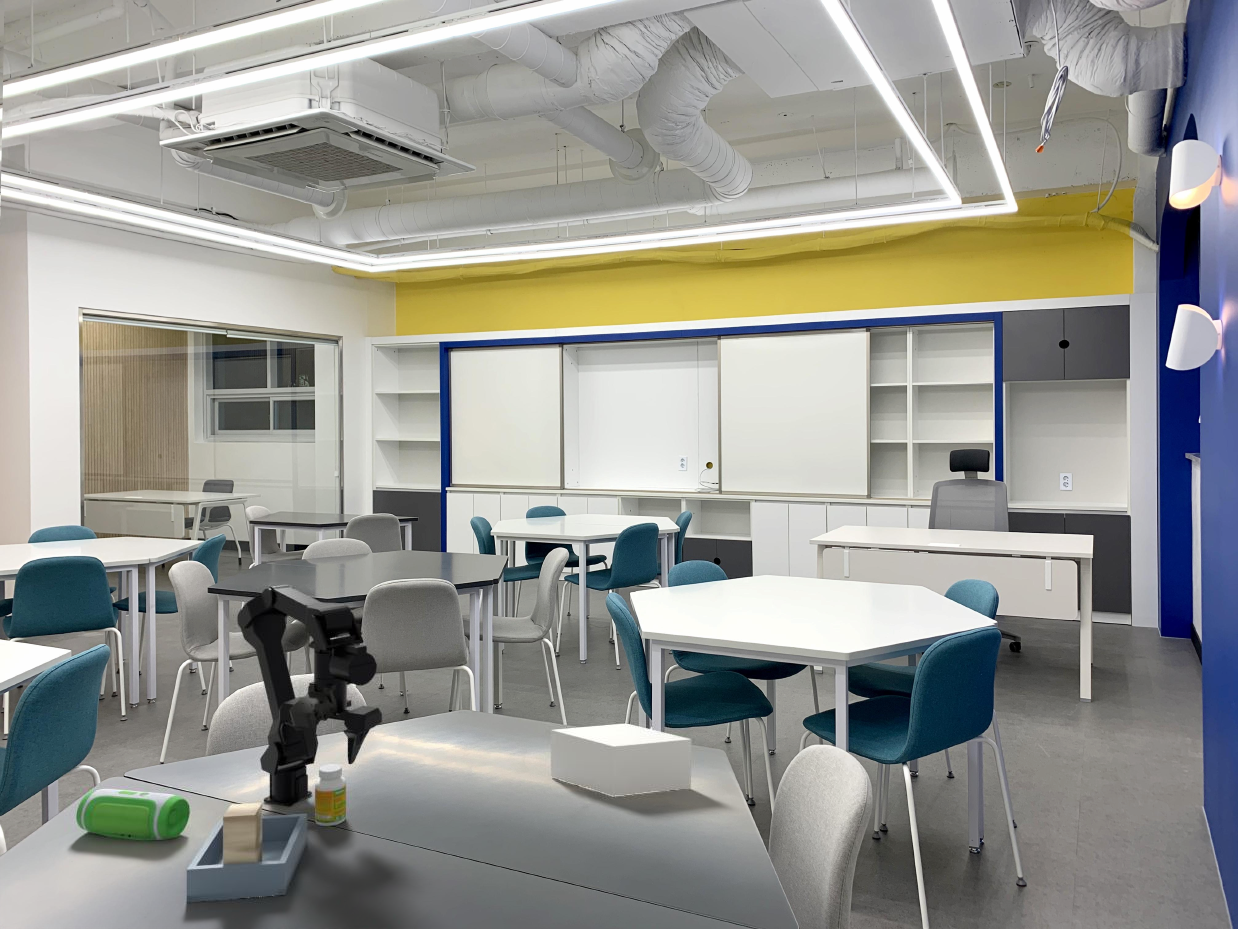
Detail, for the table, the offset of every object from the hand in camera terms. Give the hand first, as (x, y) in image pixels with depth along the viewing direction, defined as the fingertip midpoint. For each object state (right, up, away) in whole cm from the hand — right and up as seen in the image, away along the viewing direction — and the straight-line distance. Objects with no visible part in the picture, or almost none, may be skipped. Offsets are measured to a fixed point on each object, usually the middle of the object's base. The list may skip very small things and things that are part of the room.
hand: (330, 760), depth 159 cm
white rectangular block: (+53, -12, +19) cm, 57 cm away
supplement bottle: (0, -11, 0) cm, 11 cm away
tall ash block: (-6, -11, -24) cm, 27 cm away
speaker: (-32, -11, -6) cm, 35 cm away
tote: (-7, -11, -19) cm, 23 cm away
